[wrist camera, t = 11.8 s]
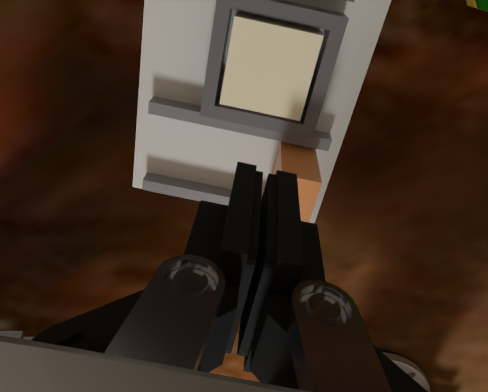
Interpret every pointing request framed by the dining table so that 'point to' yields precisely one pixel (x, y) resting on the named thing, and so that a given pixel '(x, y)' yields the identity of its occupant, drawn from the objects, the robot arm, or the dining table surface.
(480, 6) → the dish sponge
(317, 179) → the orange rectangular prism
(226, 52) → the control board
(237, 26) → the cream button
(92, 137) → the dining table surface
